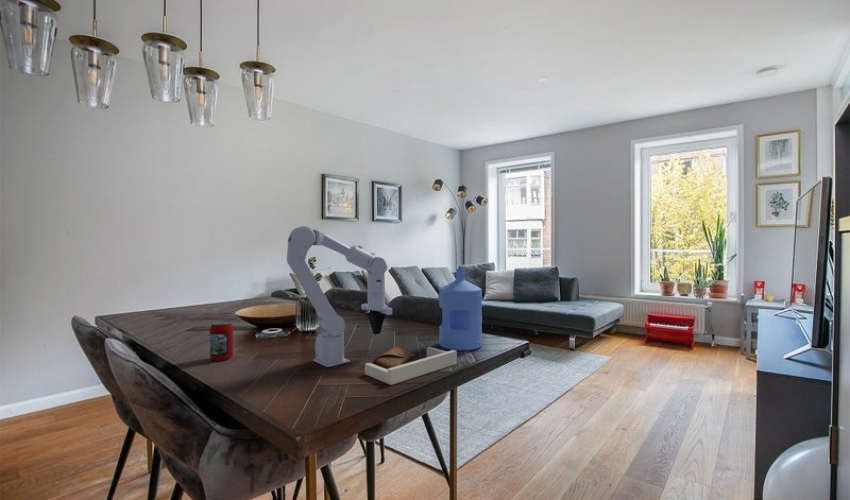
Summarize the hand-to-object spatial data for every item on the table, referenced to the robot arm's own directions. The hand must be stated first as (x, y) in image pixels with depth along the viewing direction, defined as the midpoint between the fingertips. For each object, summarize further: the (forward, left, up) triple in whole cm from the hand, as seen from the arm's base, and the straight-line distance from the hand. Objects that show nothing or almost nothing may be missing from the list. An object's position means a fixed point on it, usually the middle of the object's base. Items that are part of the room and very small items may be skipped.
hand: (376, 333), depth 133 cm
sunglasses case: (+9, 0, -8) cm, 12 cm away
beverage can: (-34, -38, -8) cm, 51 cm away
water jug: (+10, +30, -8) cm, 33 cm away
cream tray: (+18, 0, -8) cm, 20 cm away
